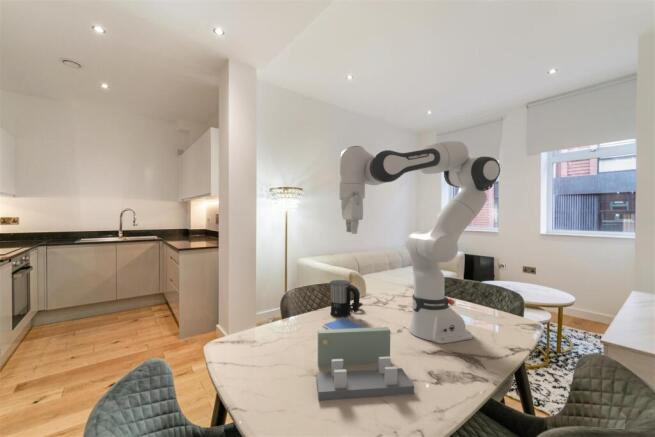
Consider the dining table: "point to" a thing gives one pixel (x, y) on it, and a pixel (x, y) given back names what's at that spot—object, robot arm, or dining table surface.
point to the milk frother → (343, 298)
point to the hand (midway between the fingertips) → (351, 232)
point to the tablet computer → (342, 324)
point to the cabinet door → (353, 345)
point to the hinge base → (363, 381)
